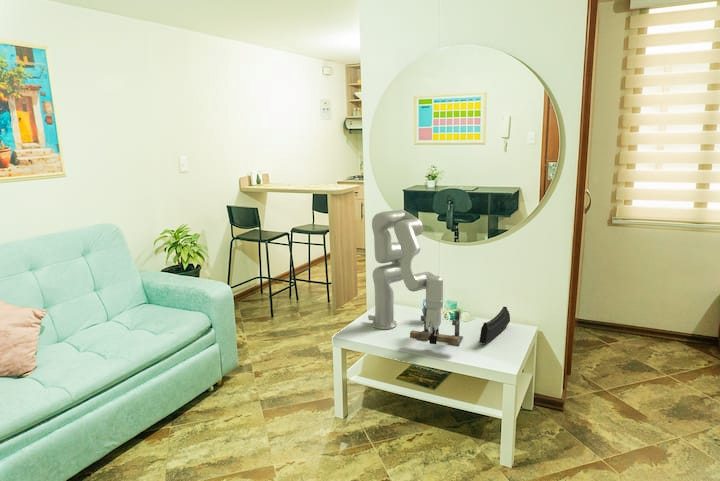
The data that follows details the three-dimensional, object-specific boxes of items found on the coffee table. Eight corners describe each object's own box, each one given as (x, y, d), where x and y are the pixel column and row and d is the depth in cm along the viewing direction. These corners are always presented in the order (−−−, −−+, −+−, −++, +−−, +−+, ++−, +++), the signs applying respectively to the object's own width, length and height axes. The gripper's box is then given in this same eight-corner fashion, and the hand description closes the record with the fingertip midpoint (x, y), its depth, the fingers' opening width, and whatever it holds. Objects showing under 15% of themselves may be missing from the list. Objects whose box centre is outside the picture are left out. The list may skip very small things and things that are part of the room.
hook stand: (417, 339, 232) (417, 311, 229) (422, 332, 240) (422, 305, 237) (459, 345, 224) (459, 317, 221) (463, 338, 232) (463, 310, 229)
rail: (410, 337, 223) (410, 332, 223) (412, 335, 226) (411, 330, 225) (457, 344, 215) (457, 339, 214) (459, 341, 217) (459, 336, 217)
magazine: (484, 330, 219) (508, 294, 240) (477, 328, 221) (502, 293, 242) (487, 359, 226) (510, 323, 247) (480, 357, 228) (504, 321, 249)
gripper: (430, 297, 226) (430, 334, 229) (421, 308, 211) (421, 348, 215) (446, 298, 223) (446, 336, 226) (438, 310, 208) (437, 350, 212)
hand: (434, 341), depth 220 cm, fingers closed on rail, 3 cm apart
